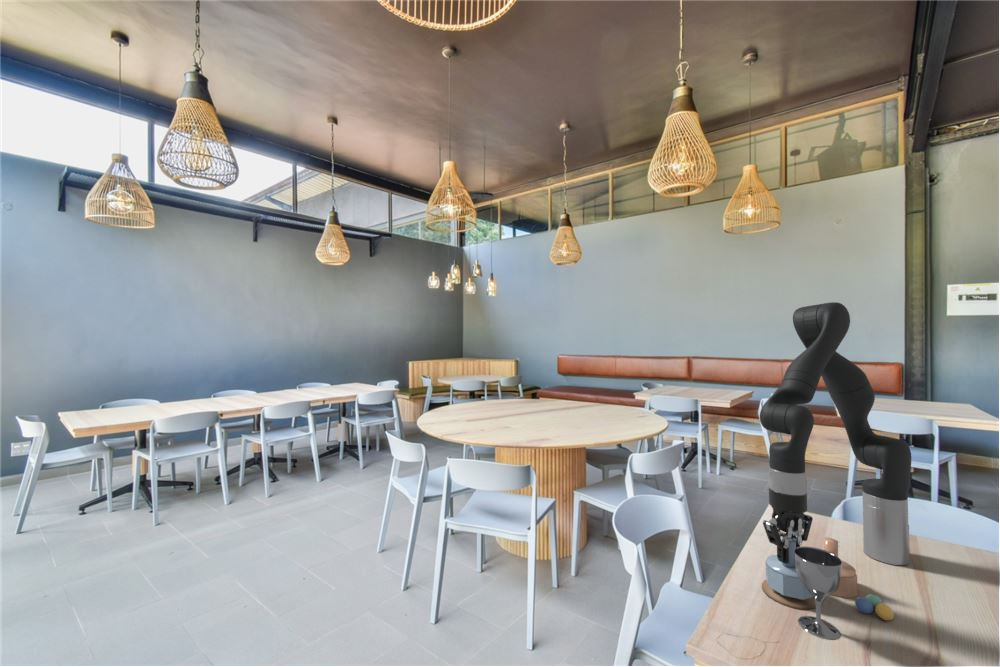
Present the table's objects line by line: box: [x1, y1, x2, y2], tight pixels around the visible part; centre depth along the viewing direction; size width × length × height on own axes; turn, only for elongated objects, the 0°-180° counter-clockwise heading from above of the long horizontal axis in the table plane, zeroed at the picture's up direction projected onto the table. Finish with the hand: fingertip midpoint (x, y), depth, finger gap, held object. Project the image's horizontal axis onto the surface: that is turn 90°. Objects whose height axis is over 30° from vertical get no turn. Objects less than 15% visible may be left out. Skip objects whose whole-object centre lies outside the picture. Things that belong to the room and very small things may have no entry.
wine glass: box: [794, 545, 843, 640], centre depth 87 cm, size 8×8×15 cm
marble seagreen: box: [864, 594, 884, 611], centre depth 93 cm, size 3×3×3 cm
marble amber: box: [874, 603, 895, 621], centre depth 89 cm, size 3×3×3 cm
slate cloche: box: [765, 536, 813, 600], centre depth 98 cm, size 9×9×11 cm
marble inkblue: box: [854, 596, 874, 614], centre depth 91 cm, size 3×3×3 cm
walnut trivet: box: [761, 578, 816, 611], centre depth 98 cm, size 11×11×1 cm
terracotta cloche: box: [823, 537, 858, 599], centre depth 101 cm, size 9×9×11 cm
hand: (788, 560), depth 98 cm, fingers open, 3 cm apart
